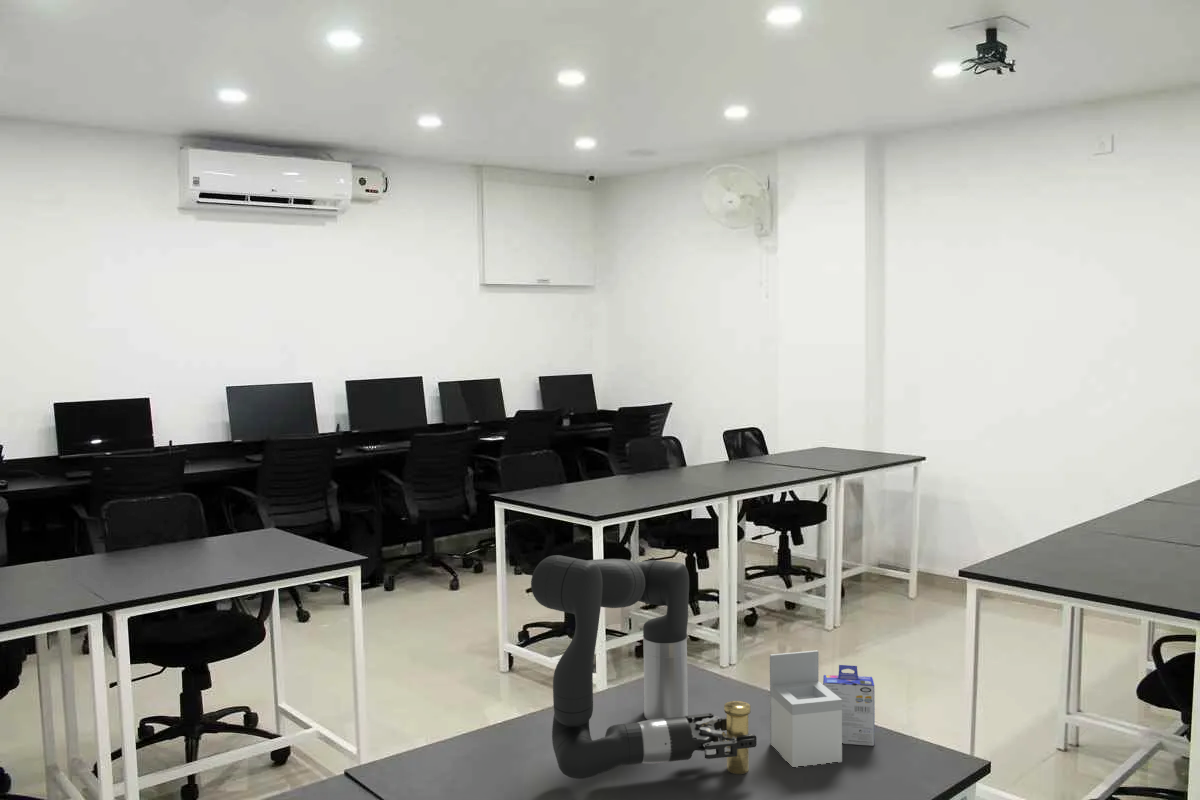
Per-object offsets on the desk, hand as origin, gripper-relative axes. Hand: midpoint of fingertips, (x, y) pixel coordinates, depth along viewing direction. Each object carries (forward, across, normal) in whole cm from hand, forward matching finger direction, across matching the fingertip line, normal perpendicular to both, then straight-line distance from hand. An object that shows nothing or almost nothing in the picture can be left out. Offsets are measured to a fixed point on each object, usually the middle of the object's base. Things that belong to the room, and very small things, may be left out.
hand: (747, 731), depth 173 cm
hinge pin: (-2, 0, +7) cm, 7 cm away
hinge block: (+13, +3, +7) cm, 15 cm away
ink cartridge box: (+24, +7, +7) cm, 26 cm away
